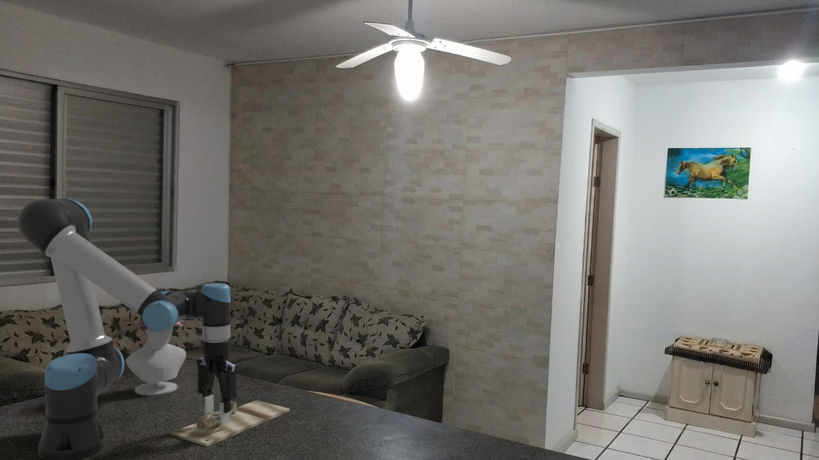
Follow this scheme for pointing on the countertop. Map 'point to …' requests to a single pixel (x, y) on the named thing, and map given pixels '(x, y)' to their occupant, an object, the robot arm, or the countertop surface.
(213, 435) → the board
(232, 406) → the figurine
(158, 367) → the bust with hat
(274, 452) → the countertop surface
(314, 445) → the countertop surface
